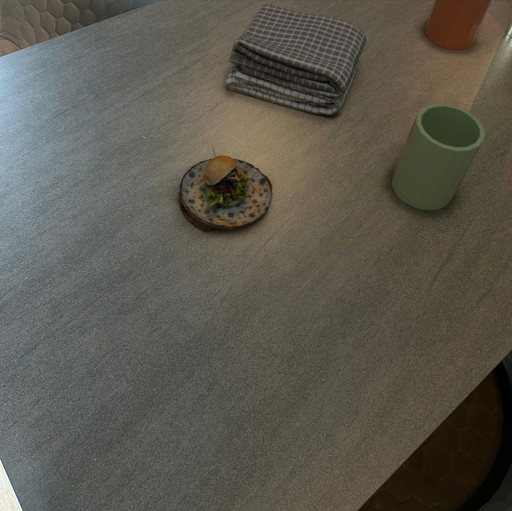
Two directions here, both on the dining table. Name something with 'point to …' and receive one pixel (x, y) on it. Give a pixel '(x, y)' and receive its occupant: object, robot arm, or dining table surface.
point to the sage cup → (436, 155)
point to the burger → (224, 193)
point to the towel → (296, 59)
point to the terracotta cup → (456, 22)
